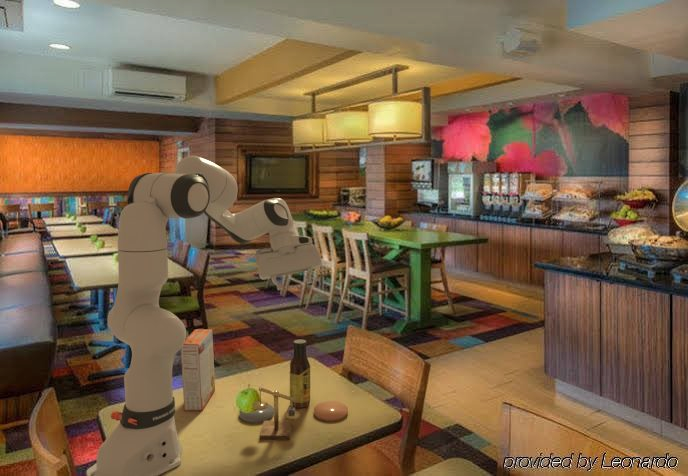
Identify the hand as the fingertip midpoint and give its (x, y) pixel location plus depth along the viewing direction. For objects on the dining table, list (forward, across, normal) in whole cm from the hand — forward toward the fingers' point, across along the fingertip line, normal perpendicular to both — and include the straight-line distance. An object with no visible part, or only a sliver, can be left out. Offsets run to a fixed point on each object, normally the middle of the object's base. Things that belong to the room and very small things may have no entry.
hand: (294, 286), depth 165 cm
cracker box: (+25, -35, +16) cm, 46 cm away
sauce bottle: (+34, -6, +10) cm, 36 cm away
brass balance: (+41, -15, -4) cm, 44 cm away
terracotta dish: (+39, +2, +4) cm, 40 cm away
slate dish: (+34, -19, +6) cm, 40 cm away
